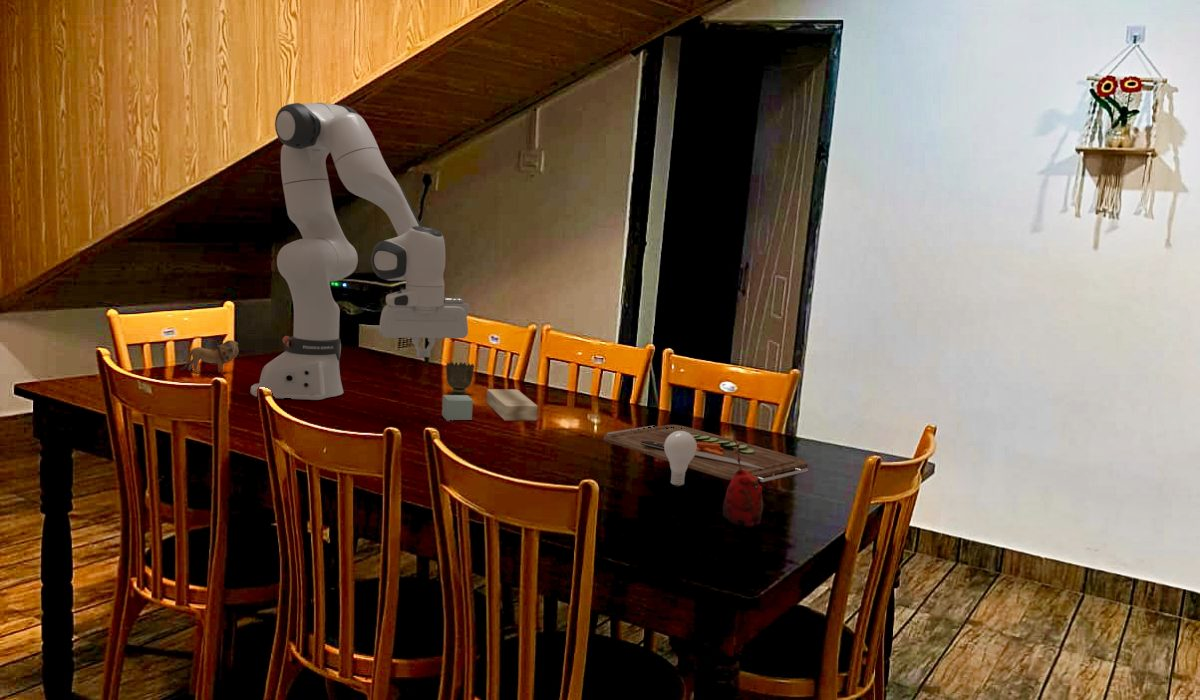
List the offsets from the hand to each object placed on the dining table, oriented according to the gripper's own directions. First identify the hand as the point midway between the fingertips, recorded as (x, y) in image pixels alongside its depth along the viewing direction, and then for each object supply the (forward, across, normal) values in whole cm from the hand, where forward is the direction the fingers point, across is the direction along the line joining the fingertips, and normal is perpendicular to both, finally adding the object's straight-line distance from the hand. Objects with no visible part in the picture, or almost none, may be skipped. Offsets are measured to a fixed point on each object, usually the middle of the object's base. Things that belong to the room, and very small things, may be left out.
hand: (423, 356), depth 241 cm
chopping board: (+17, -58, +33) cm, 69 cm away
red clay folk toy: (+17, -44, +80) cm, 93 cm away
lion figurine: (+13, +48, -55) cm, 74 cm away
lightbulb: (+16, -40, +58) cm, 73 cm away
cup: (+15, -14, -28) cm, 35 cm away
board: (+15, -24, -8) cm, 29 cm away
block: (+15, -8, 0) cm, 17 cm away
